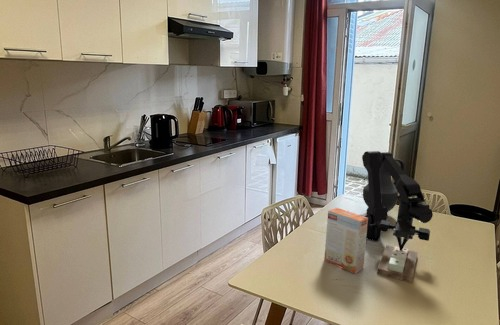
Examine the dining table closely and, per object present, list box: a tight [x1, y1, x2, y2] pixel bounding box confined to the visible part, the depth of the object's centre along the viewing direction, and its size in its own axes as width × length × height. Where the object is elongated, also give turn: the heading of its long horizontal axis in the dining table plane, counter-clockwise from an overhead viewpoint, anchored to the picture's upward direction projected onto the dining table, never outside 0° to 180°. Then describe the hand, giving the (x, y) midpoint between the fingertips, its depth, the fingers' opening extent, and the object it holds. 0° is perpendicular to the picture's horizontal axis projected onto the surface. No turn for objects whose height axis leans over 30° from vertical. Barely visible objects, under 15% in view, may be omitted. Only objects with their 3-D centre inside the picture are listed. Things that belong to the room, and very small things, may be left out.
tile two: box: [391, 250, 408, 265], centre depth 140 cm, size 5×5×3 cm
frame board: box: [376, 245, 418, 283], centre depth 140 cm, size 12×22×2 cm, turn 152°
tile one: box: [388, 258, 406, 273], centre depth 134 cm, size 5×5×3 cm
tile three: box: [394, 245, 409, 257], centre depth 146 cm, size 5×5×3 cm
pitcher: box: [362, 157, 405, 213], centre depth 189 cm, size 17×21×30 cm
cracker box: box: [323, 207, 368, 274], centre depth 137 cm, size 14×6×21 cm, turn 42°
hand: (400, 249), depth 146 cm, fingers closed
